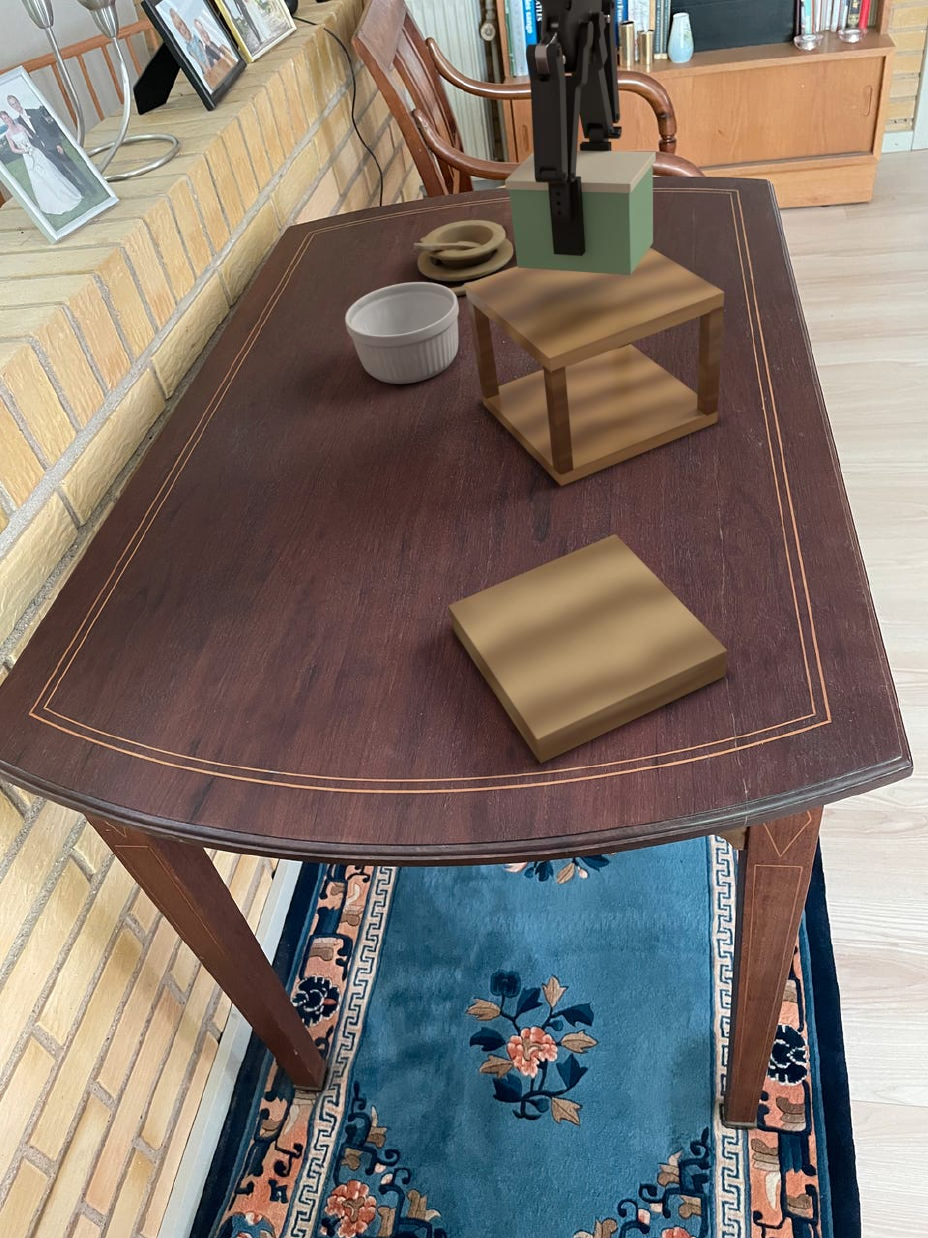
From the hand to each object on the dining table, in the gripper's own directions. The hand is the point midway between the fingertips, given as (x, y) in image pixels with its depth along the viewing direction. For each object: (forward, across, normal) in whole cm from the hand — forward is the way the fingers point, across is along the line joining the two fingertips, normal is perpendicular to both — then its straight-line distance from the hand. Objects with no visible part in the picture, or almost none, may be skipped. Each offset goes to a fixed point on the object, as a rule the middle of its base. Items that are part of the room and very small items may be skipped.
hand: (584, 233), depth 84 cm
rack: (+19, 0, 0) cm, 19 cm away
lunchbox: (+2, 0, 0) cm, 2 cm away
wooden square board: (+19, +32, +11) cm, 39 cm away
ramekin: (+19, -6, -25) cm, 32 cm away
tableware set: (+19, -35, -23) cm, 46 cm away
